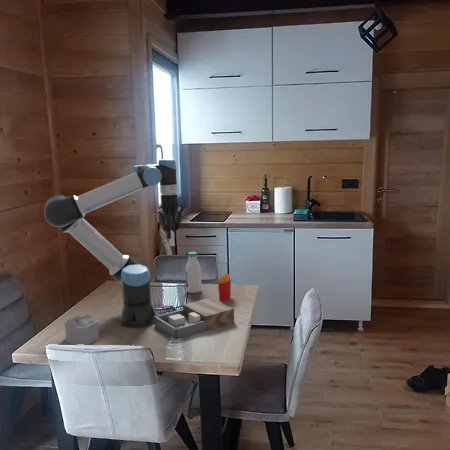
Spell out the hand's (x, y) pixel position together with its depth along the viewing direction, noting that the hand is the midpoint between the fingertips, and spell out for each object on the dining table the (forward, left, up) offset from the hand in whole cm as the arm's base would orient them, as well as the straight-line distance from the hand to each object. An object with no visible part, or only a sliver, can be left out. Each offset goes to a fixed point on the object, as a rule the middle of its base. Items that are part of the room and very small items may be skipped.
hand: (171, 245), depth 225 cm
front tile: (-6, -30, -25) cm, 39 cm away
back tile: (-11, -22, -25) cm, 35 cm away
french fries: (+23, -8, -29) cm, 37 cm away
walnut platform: (+2, -26, -29) cm, 38 cm away
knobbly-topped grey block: (-48, -11, -29) cm, 57 cm away
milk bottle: (+18, +12, -29) cm, 36 cm away
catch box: (-12, -26, -29) cm, 40 cm away
